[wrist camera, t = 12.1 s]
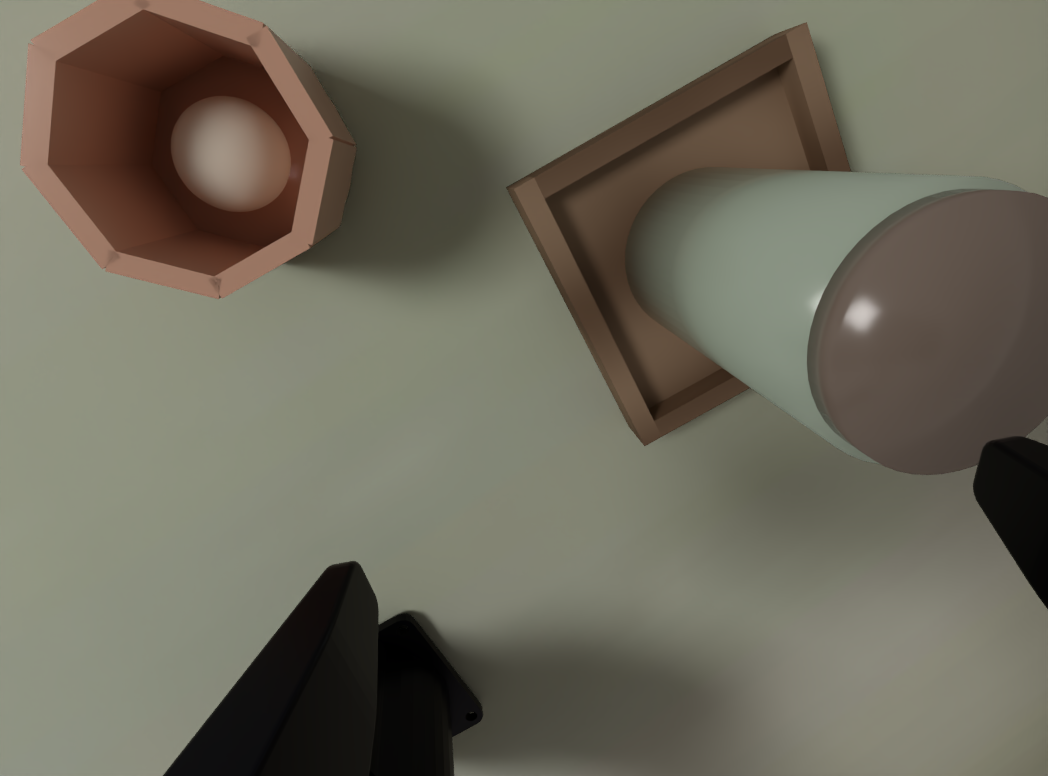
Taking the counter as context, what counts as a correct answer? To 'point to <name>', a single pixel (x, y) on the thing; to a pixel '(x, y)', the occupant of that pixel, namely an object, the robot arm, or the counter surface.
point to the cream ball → (230, 154)
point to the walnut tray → (634, 175)
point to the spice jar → (859, 301)
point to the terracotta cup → (145, 141)
